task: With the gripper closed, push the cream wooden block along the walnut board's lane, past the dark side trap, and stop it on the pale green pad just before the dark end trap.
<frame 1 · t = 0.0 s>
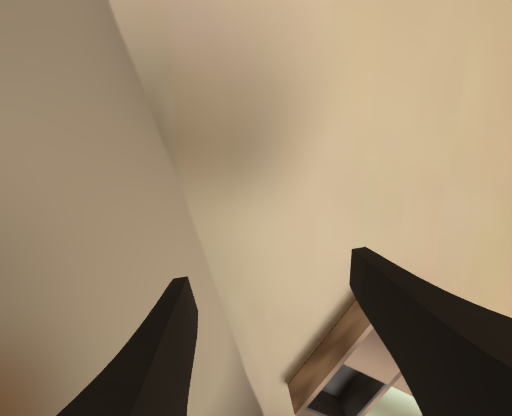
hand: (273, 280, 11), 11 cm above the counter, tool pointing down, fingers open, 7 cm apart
trap board: (413, 374, 28), on the counter
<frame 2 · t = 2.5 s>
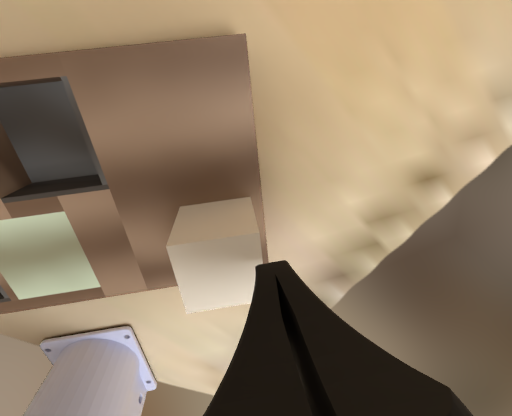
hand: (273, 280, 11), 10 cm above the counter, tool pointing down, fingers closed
block: (221, 231, 17), point 3 cm above the counter, touching trap board
trap board: (85, 186, 18), on the counter
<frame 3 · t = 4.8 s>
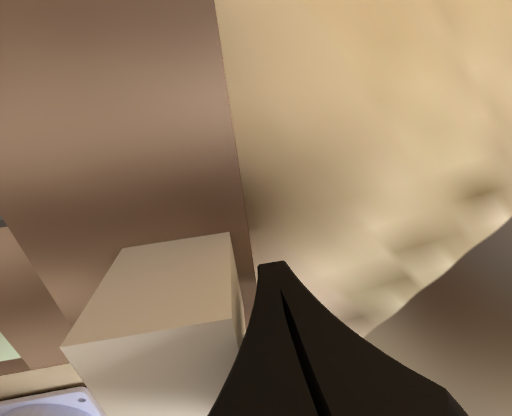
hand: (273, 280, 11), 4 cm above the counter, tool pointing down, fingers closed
block: (188, 280, 12), point 3 cm above the counter, touching gripper
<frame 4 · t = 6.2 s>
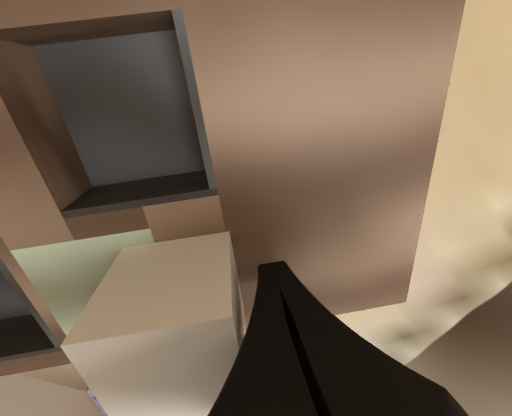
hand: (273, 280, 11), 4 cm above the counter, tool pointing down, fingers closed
block: (188, 280, 12), point 3 cm above the counter, touching gripper, trap board
trap board: (162, 190, 13), on the counter
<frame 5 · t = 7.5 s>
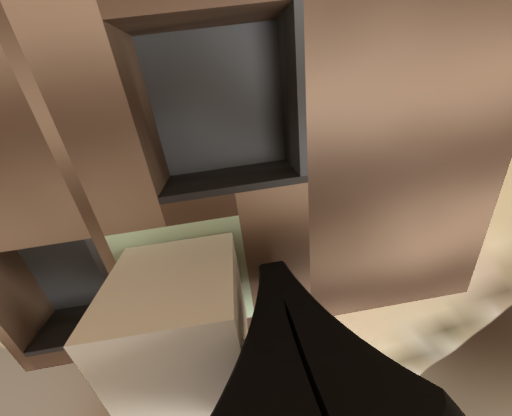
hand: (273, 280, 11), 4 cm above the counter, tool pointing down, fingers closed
block: (191, 280, 12), point 3 cm above the counter, touching gripper, trap board
trap board: (233, 180, 13), on the counter
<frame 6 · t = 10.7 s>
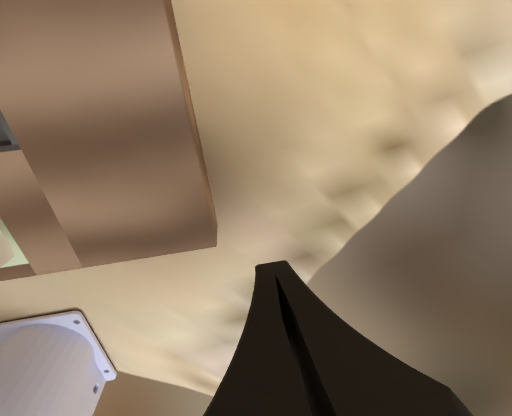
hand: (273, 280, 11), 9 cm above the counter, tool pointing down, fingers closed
trap board: (9, 153, 16), on the counter
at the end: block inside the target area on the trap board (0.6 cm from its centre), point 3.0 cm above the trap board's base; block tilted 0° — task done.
